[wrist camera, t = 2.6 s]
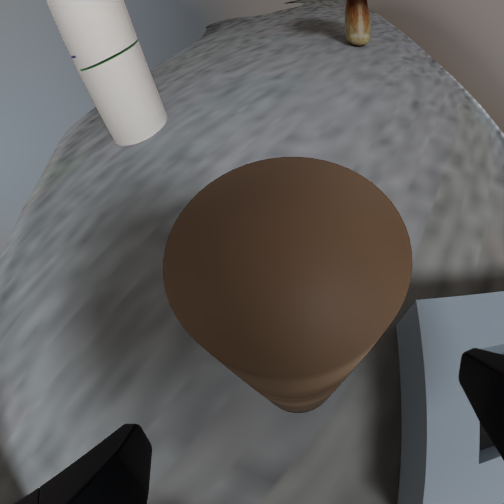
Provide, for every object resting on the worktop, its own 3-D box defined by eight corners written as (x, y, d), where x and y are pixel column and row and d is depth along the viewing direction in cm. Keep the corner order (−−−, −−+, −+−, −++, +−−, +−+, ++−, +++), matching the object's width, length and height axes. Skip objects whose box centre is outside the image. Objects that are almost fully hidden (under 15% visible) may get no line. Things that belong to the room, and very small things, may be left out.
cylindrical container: (148, 106, 36) (86, -53, 15) (178, 117, 33) (113, -73, 12) (105, 137, 34) (27, -26, 13) (130, 152, 31) (40, -45, 10)
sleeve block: (544, 461, 9) (579, 458, 5) (396, 514, 11) (418, 533, 7) (531, 307, 15) (560, 282, 12) (395, 325, 17) (416, 299, 14)
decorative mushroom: (331, 55, 38) (325, -35, 25) (320, 35, 43) (313, -39, 31) (399, 58, 36) (402, -28, 24) (378, 36, 42) (377, -35, 29)
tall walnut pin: (333, 411, 15) (430, 364, 3) (262, 412, 16) (142, 364, 4) (333, 345, 17) (384, 155, 6) (265, 346, 18) (186, 165, 6)
